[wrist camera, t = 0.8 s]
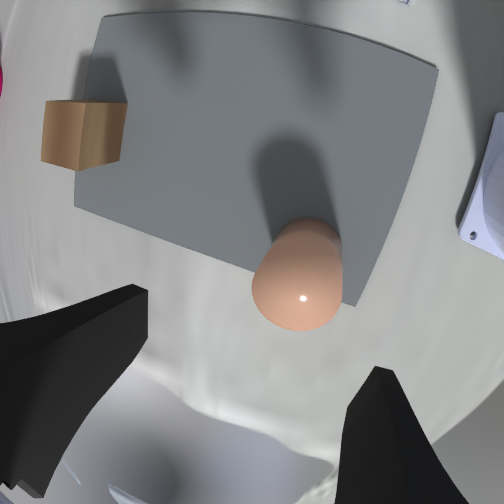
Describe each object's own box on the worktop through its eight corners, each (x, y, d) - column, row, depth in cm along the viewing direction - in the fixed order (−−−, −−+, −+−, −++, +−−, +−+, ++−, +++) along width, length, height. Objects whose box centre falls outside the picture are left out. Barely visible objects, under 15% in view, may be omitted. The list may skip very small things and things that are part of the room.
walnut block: (128, 103, 17) (85, 103, 13) (119, 160, 19) (78, 171, 15) (87, 99, 18) (46, 100, 14) (81, 151, 19) (40, 161, 16)
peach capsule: (352, 231, 17) (356, 269, 12) (328, 290, 18) (322, 341, 14) (284, 208, 17) (264, 238, 13) (266, 268, 19) (243, 313, 14)
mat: (436, 70, 12) (438, 69, 12) (355, 303, 19) (355, 306, 18) (105, 18, 15) (101, 17, 15) (77, 204, 22) (74, 205, 21)
